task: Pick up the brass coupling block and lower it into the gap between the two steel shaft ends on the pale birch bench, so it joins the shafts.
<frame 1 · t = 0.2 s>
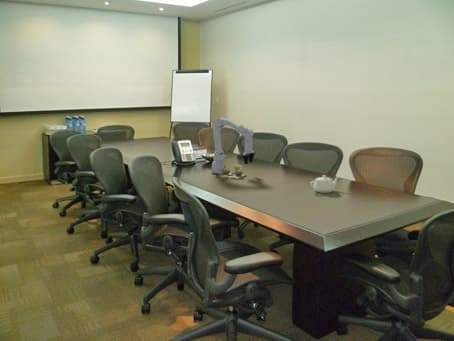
hand: (248, 163, 314), 10 cm above the table, fingers open, 7 cm apart
coupler: (238, 173, 326), on the table
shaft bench: (232, 176, 313), on the table
teapot: (324, 191, 268), on the table
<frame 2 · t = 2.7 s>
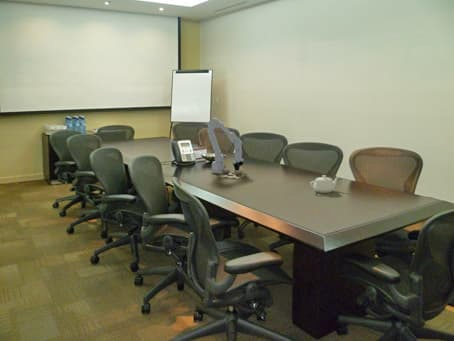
hand: (238, 171, 326), 1 cm above the table, fingers closed on coupler, 4 cm apart
coupler: (238, 173, 326), on the table, touching gripper
everything else where it was.
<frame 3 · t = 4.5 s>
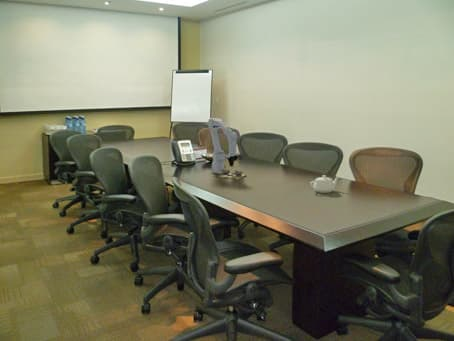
hand: (232, 165, 312), 8 cm above the table, fingers closed on coupler, 4 cm apart
coupler: (233, 168, 312), point 7 cm above the table, touching gripper
everything else where it was.
when the fingers open (4 cm above the table, at t = 6.4 s): coupler stays where it is, resting on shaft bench.
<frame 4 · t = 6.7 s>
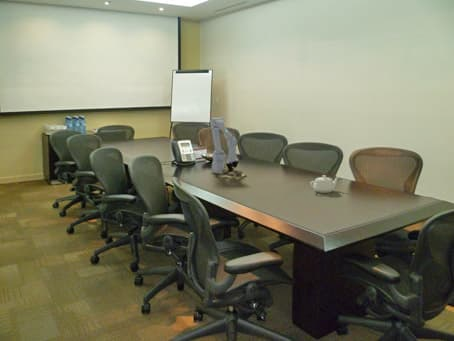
hand: (232, 171, 312), 4 cm above the table, fingers open, 6 cm apart
coupler: (232, 175, 313), point 1 cm above the table, touching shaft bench
everything else where it was.
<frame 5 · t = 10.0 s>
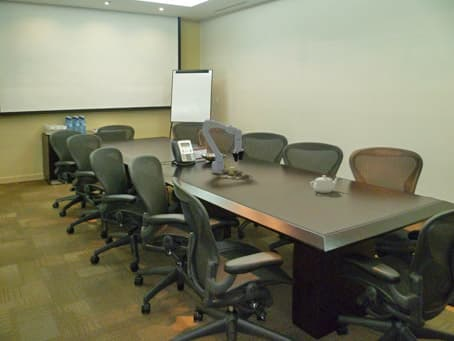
hand: (238, 161, 327), 9 cm above the table, fingers open, 7 cm apart
nothing on the table moved.
at the end: coupler 0.4 cm off-centre on the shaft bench, point 1.3 cm above the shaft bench's base; coupler tilted 0°; the gripper is holding nothing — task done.
